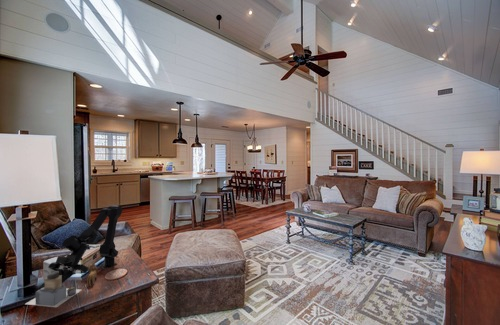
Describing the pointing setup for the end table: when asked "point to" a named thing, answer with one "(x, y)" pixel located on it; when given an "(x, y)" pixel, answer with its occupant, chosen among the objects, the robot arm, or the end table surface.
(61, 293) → the mount
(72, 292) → the potentiometer
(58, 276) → the knob
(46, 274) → the supplement box
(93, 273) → the lion figurine
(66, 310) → the end table surface
